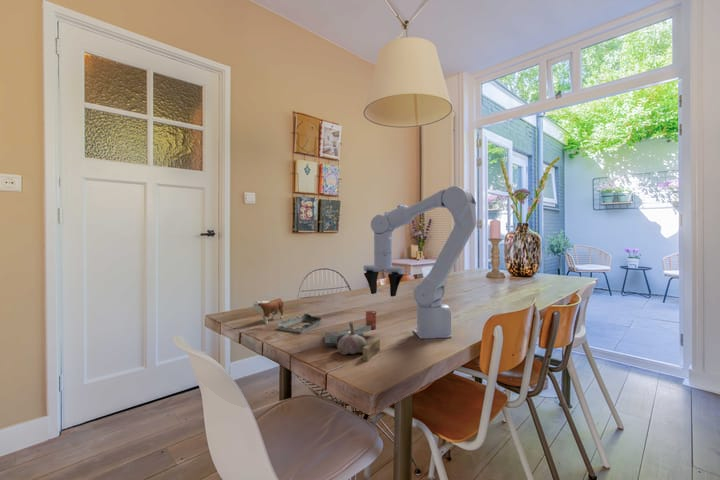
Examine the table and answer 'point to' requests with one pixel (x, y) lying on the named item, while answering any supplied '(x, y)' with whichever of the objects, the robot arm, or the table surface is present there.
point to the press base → (330, 344)
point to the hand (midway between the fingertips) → (383, 294)
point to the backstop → (371, 349)
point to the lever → (356, 328)
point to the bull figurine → (269, 308)
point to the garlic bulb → (351, 342)
